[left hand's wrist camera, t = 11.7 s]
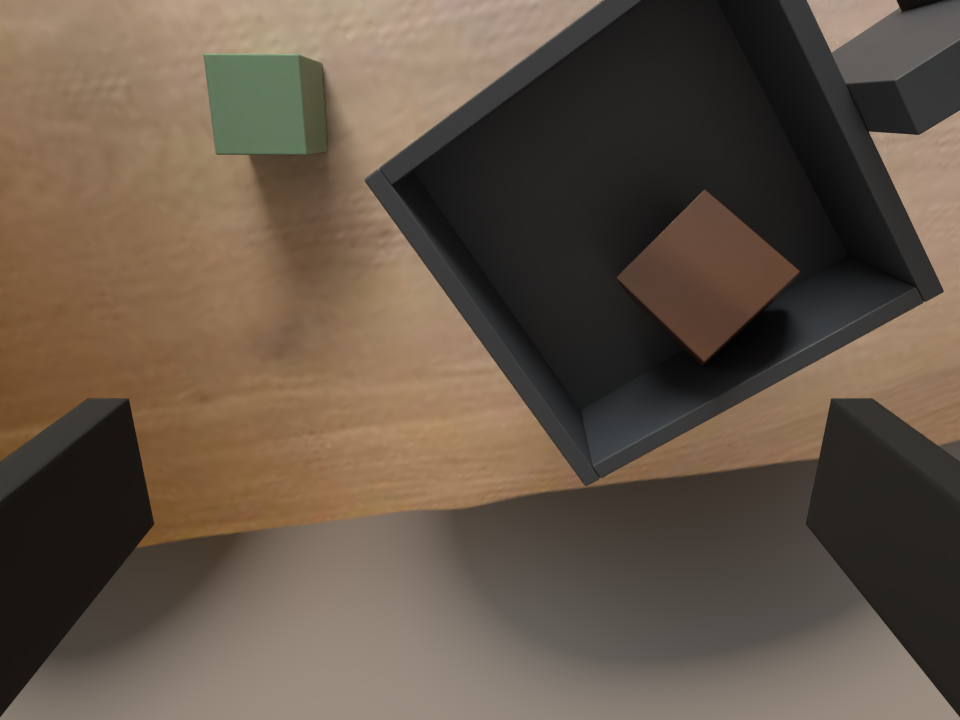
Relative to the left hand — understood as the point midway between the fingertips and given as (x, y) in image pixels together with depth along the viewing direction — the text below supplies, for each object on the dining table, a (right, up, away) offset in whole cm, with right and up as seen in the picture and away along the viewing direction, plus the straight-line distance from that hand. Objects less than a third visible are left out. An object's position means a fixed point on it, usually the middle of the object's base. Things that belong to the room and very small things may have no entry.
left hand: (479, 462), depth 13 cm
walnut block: (+8, +4, +17) cm, 19 cm away
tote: (+11, +12, +18) cm, 25 cm away
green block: (-12, +17, +27) cm, 34 cm away
